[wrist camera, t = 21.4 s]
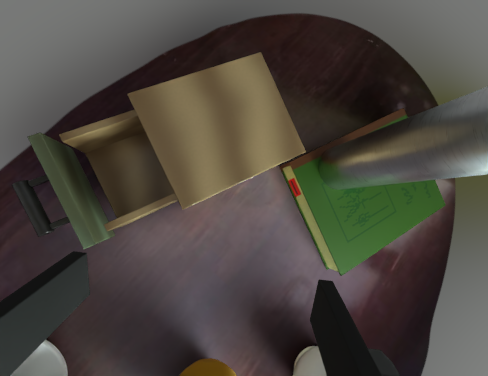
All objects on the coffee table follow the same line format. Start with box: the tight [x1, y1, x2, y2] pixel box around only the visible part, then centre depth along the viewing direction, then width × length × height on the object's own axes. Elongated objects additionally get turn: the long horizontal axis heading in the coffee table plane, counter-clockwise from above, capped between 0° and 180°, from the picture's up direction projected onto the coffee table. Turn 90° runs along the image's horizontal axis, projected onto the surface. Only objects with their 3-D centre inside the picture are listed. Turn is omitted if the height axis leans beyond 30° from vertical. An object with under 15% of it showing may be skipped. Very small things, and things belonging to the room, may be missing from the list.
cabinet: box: [127, 52, 306, 209], centre depth 31 cm, size 17×14×9 cm
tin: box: [319, 87, 488, 190], centre depth 24 cm, size 7×7×24 cm
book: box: [279, 108, 445, 276], centre depth 39 cm, size 25×19×4 cm
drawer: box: [12, 109, 178, 249], centre depth 27 cm, size 20×12×7 cm, turn 116°
